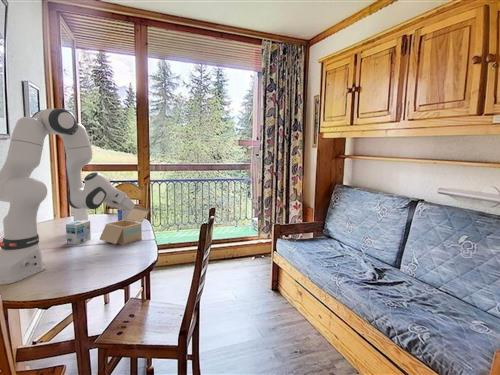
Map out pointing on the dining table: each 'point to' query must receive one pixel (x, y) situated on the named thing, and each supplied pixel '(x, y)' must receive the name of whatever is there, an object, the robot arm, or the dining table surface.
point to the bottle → (80, 213)
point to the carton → (122, 232)
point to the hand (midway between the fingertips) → (127, 211)
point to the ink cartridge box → (123, 215)
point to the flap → (138, 214)
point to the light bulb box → (78, 232)
